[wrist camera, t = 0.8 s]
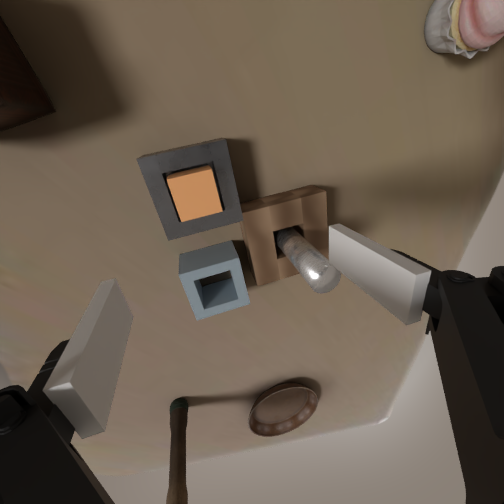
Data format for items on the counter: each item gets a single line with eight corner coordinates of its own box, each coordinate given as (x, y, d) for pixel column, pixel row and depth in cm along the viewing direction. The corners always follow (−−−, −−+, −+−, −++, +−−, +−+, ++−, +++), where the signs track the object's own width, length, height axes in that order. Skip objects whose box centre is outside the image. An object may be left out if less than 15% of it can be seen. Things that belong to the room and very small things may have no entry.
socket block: (311, 184, 37) (326, 191, 34) (316, 252, 43) (329, 264, 39) (235, 204, 36) (242, 213, 32) (251, 271, 42) (257, 286, 38)
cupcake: (406, 70, 34) (484, 49, 25) (420, -26, 29) (520, -92, 20) (463, 64, 35) (555, 42, 26) (484, -28, 31) (603, -91, 22)
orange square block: (209, 165, 30) (211, 169, 27) (219, 203, 32) (222, 211, 29) (168, 174, 29) (166, 179, 26) (181, 213, 32) (181, 222, 29)
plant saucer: (312, 367, 58) (318, 379, 55) (313, 410, 66) (318, 421, 64) (239, 391, 55) (242, 404, 53) (250, 432, 64) (253, 445, 61)
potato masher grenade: (208, 398, 53) (230, 655, 27) (179, 420, 54) (173, 689, 28) (179, 383, 49) (172, 669, 23) (148, 407, 50) (108, 708, 24)
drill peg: (288, 217, 39) (340, 261, 26) (290, 237, 41) (340, 287, 28) (267, 223, 39) (309, 271, 25) (270, 242, 40) (312, 297, 27)
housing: (220, 138, 32) (225, 139, 28) (237, 210, 36) (243, 220, 32) (142, 155, 30) (136, 159, 26) (170, 228, 35) (168, 240, 31)
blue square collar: (231, 240, 38) (238, 257, 33) (242, 282, 42) (250, 303, 37) (179, 254, 37) (178, 274, 32) (195, 296, 41) (196, 320, 36)
